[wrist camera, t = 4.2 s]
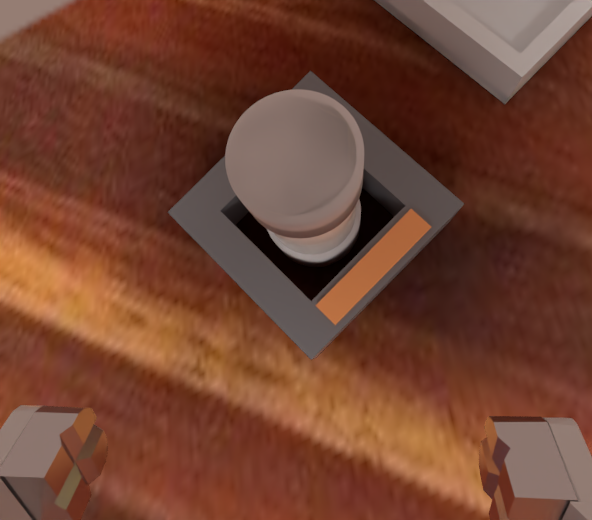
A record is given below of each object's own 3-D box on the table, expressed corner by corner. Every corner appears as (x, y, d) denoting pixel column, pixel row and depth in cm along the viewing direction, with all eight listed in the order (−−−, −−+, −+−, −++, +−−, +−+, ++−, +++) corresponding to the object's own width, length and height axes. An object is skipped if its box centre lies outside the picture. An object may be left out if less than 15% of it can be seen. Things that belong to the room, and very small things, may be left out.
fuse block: (188, 226, 22) (165, 210, 19) (315, 100, 22) (310, 68, 19) (316, 357, 20) (310, 360, 18) (451, 219, 20) (465, 202, 18)
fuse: (254, 225, 21) (197, 158, 14) (315, 164, 22) (293, 62, 14) (316, 285, 21) (293, 252, 13) (378, 222, 21) (394, 150, 13)
